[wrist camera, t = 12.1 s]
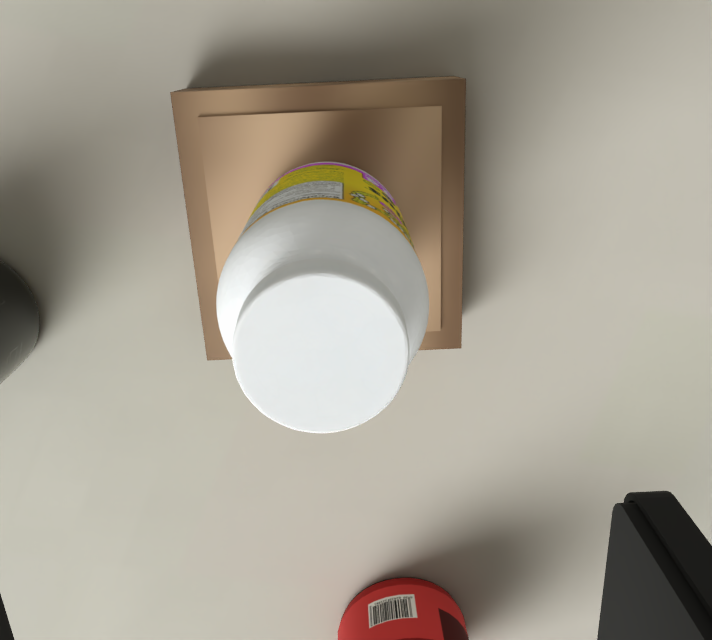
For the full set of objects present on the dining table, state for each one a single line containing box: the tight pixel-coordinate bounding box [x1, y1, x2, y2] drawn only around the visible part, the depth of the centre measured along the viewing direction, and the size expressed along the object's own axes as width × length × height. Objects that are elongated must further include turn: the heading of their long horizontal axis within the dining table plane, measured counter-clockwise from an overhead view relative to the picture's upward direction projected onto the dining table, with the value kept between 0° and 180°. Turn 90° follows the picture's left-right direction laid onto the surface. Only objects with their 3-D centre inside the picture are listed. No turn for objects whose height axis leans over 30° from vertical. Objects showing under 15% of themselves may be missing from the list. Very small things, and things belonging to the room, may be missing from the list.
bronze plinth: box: [170, 76, 466, 360], centre depth 31 cm, size 12×12×3 cm
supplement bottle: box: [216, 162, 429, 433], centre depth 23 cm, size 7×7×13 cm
